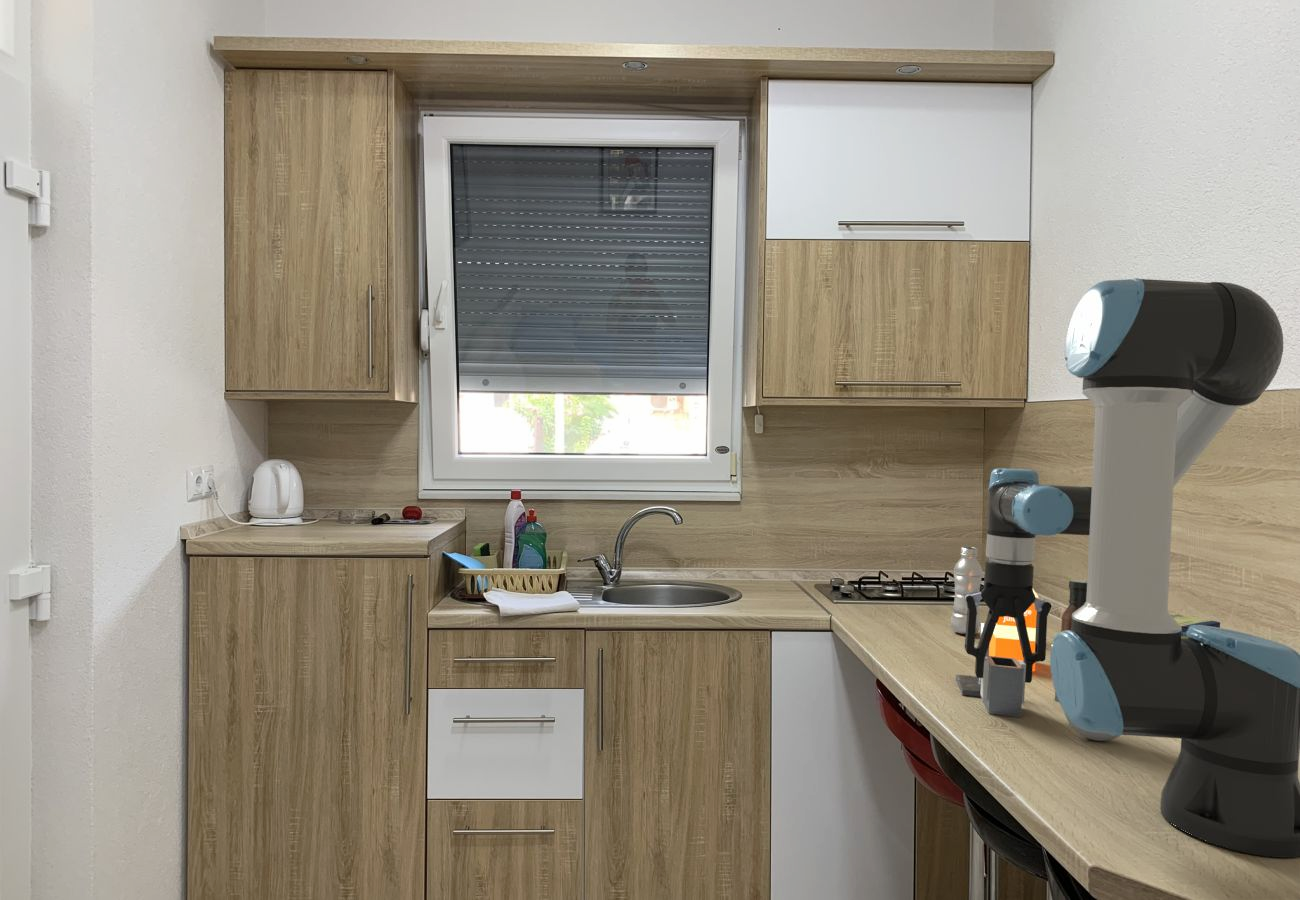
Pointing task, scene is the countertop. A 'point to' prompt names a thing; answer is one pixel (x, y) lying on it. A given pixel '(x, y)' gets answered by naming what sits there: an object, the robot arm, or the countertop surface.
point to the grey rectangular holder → (1004, 686)
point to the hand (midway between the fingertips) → (1001, 698)
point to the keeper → (970, 680)
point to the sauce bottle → (1074, 601)
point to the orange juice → (1013, 635)
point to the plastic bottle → (965, 588)
